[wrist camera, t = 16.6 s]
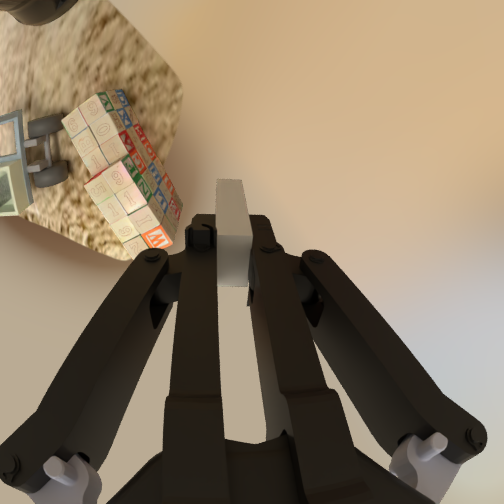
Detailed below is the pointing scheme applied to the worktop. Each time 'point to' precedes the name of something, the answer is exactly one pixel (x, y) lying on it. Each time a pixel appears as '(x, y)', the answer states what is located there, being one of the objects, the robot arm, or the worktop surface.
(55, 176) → the cart
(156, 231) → the stack of blocks
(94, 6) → the worktop surface
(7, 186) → the orange capped bottle
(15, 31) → the worktop surface
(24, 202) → the tray
